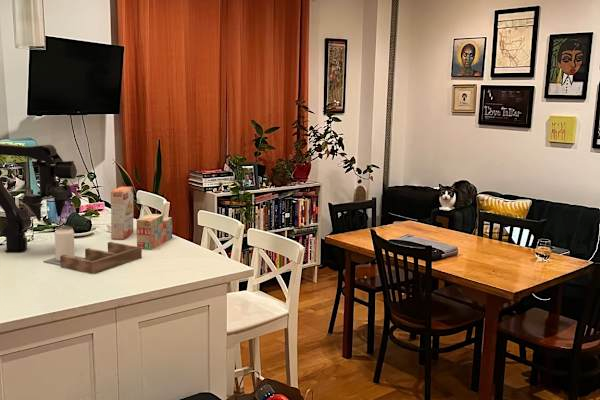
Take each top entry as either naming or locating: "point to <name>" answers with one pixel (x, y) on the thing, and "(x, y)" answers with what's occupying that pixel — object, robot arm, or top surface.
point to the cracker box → (121, 212)
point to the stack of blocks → (153, 231)
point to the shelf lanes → (102, 258)
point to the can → (64, 242)
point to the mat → (55, 262)
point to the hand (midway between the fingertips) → (49, 218)
